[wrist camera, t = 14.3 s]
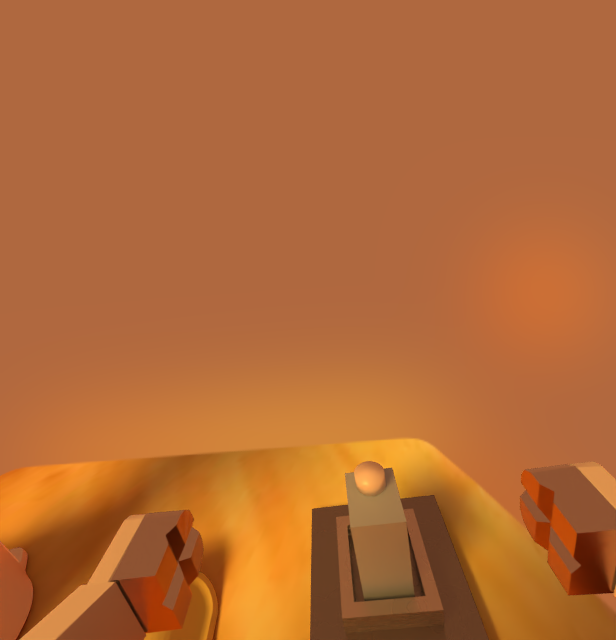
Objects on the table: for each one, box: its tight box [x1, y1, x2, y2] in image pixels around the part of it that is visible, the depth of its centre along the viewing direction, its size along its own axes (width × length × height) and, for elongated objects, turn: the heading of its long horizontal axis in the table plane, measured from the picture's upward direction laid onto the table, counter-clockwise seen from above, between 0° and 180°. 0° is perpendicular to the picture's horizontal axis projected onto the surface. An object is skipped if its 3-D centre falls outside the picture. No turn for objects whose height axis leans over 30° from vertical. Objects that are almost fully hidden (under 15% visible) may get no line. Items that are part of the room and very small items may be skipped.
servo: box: [345, 461, 415, 601], centre depth 28 cm, size 4×5×10 cm
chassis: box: [310, 495, 489, 640], centre depth 30 cm, size 13×14×3 cm
